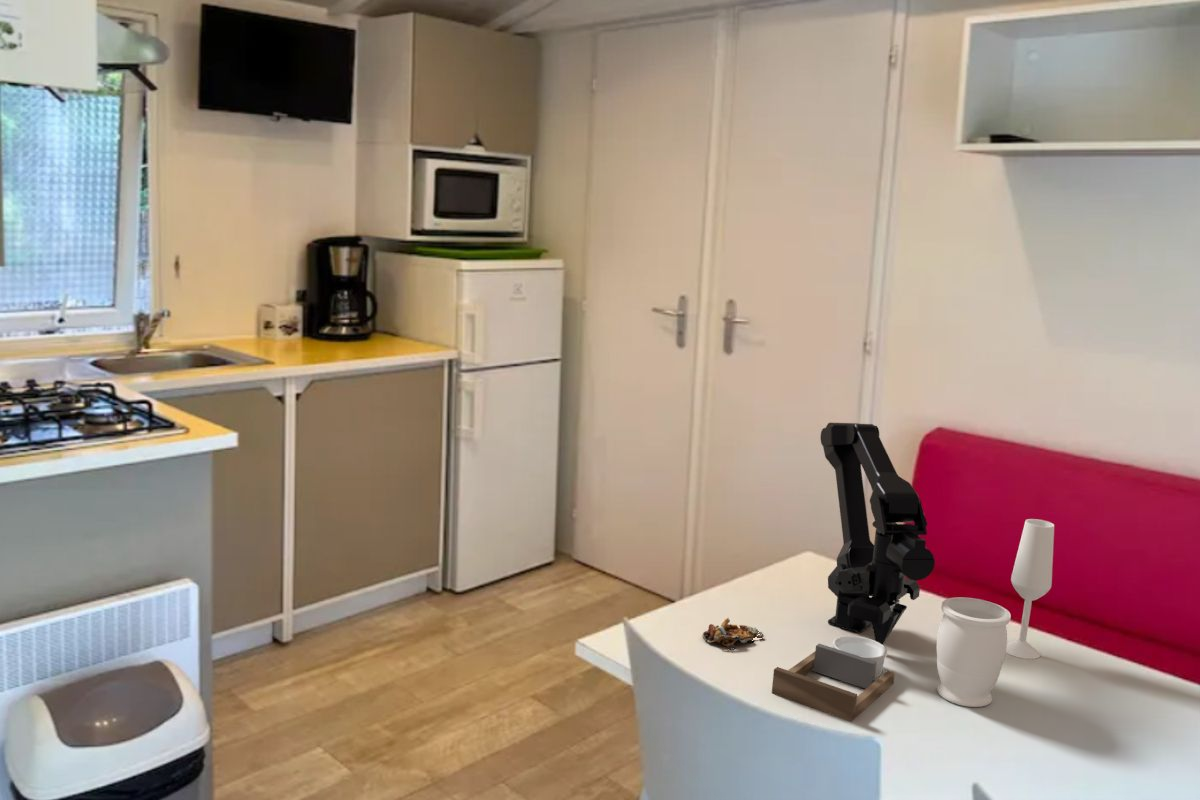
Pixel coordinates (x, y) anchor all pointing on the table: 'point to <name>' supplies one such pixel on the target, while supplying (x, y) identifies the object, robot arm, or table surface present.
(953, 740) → the table surface
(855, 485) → the robot arm
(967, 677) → the jar
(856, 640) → the ramekin
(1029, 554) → the champagne flute
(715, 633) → the grilled meat platter
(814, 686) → the wooden u-shaped frame
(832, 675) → the block
